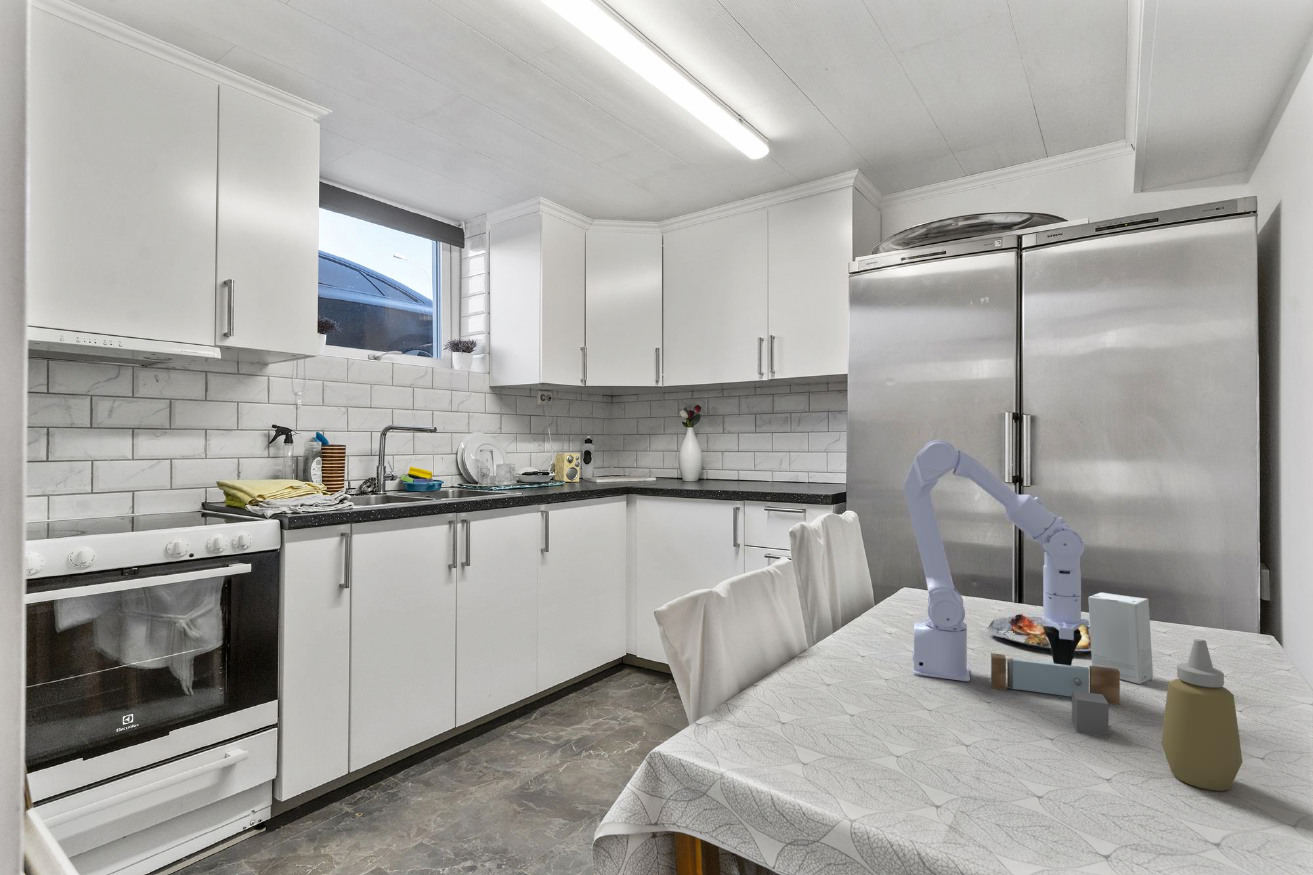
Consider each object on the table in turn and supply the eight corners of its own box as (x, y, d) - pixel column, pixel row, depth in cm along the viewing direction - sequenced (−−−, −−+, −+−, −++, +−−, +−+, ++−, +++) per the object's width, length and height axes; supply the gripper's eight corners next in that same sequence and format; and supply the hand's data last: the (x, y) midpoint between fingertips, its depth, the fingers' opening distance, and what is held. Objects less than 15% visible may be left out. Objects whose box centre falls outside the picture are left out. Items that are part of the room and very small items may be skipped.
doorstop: (1076, 732, 98) (1076, 699, 98) (1072, 722, 102) (1072, 690, 102) (1108, 737, 96) (1108, 703, 97) (1102, 727, 100) (1102, 694, 100)
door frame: (992, 688, 116) (991, 657, 116) (991, 683, 118) (991, 653, 118) (1120, 705, 108) (1120, 672, 108) (1117, 700, 110) (1116, 667, 111)
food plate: (999, 618, 162) (999, 604, 162) (1113, 636, 149) (1113, 620, 149) (980, 646, 142) (980, 630, 142) (1111, 669, 128) (1111, 651, 128)
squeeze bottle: (1145, 766, 88) (1144, 632, 88) (1200, 763, 88) (1200, 630, 89) (1200, 798, 80) (1199, 651, 80) (1260, 795, 80) (1260, 649, 81)
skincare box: (1153, 679, 121) (1153, 598, 121) (1139, 685, 117) (1139, 603, 118) (1102, 666, 128) (1102, 590, 128) (1088, 672, 124) (1087, 594, 125)
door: (1008, 689, 115) (1008, 661, 115) (1007, 685, 116) (1007, 657, 116) (1090, 701, 110) (1090, 671, 110) (1087, 696, 112) (1087, 667, 112)
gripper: (1094, 604, 108) (1095, 686, 108) (1082, 587, 121) (1083, 661, 121) (1045, 599, 111) (1045, 679, 111) (1038, 583, 124) (1039, 655, 124)
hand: (1062, 669), depth 116 cm, fingers closed
